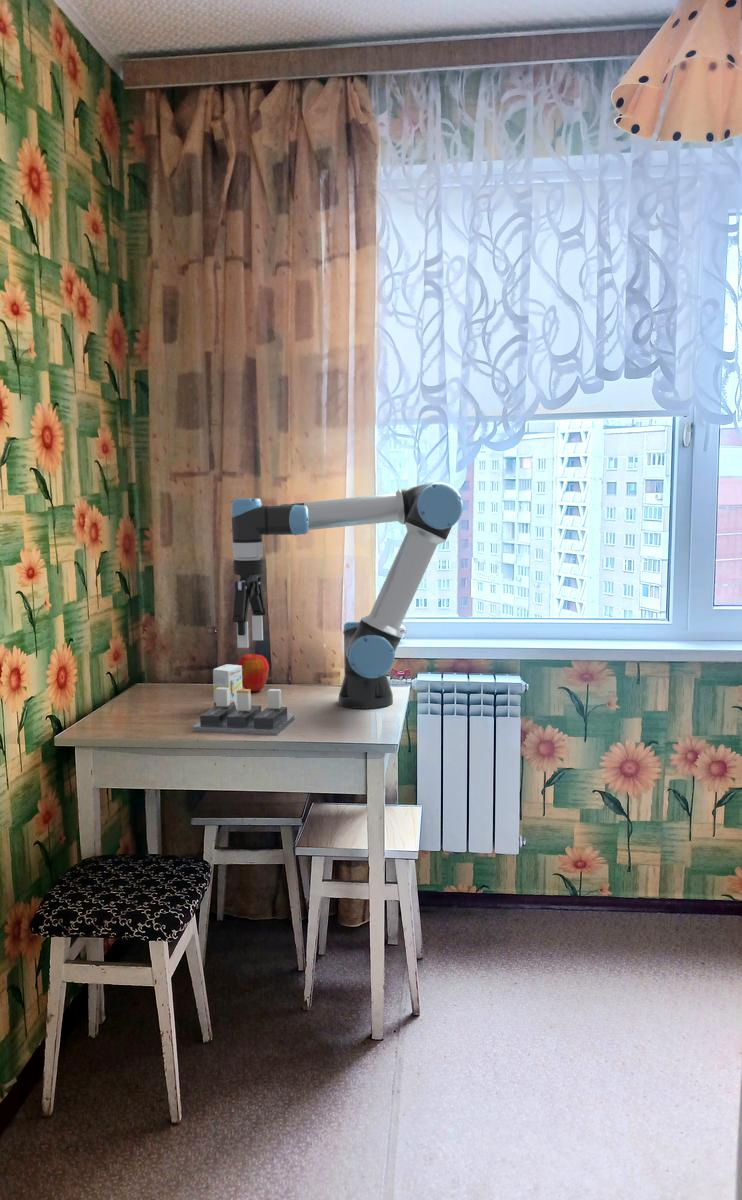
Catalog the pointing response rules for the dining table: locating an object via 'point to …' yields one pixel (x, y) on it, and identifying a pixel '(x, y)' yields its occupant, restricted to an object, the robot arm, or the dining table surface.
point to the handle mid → (244, 699)
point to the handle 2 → (274, 698)
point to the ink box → (228, 680)
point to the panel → (245, 729)
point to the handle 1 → (222, 696)
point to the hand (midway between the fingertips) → (250, 643)
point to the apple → (254, 671)
